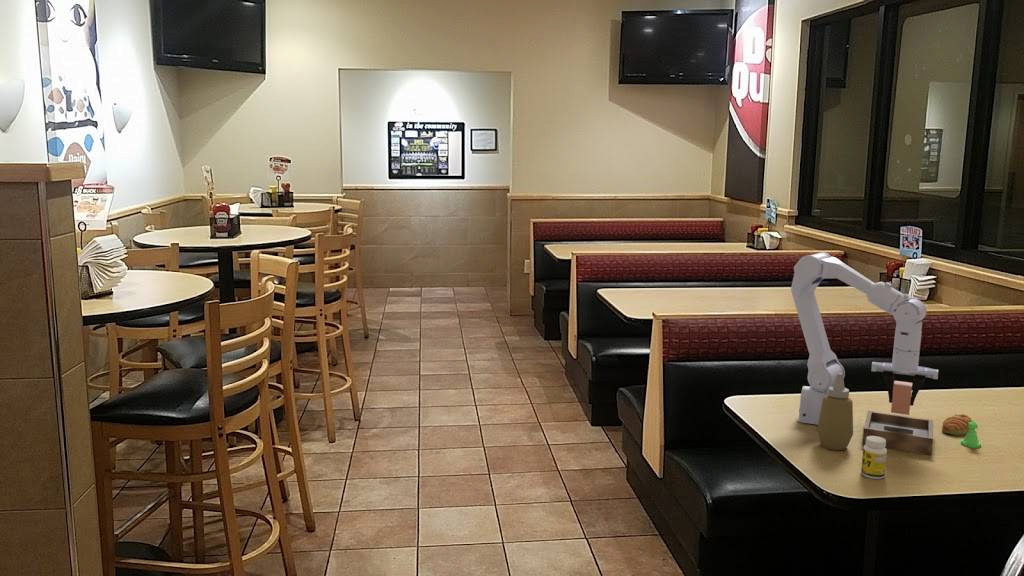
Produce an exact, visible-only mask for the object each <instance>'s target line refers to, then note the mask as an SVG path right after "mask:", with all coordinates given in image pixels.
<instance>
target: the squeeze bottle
mask: <svg viewBox="0 0 1024 576" xmlns="http://www.w3.org/2000/svg"><path fill="white" fill-rule="evenodd" d="M849 396H850V390H849V388H846V387H845V381H844V379H843V374H840V373H838V374H837V376H836V380H835V383H834V386H831V387H829V388H828V395H826V396H825V397H824V398H823V402H822V407H821V412H820V417H819V422H818V425H817V429H816V432H817V435H818V438H819V442H820V445H821V447H823V448H825V449H828V450H832V451H833V450H834V451H844V450H847V448H848V446H849V444H850V442H851V440H852V437H854V412H853V411H854V409H853V407H854V406H853V405H854V404H853V400H852V399H851V398H850V397H849Z"/></svg>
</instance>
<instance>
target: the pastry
mask: <svg viewBox="0 0 1024 576" xmlns="http://www.w3.org/2000/svg"><path fill="white" fill-rule="evenodd" d="M972 421H973V420H972V418H971V417H970V416H969V415H967V414H963V413H962V414H954V415H952V416H949V417H946V419H944V420H943V422H942V426H941V430H942V433H945V434H946V433H947V434H951V435H954V436H963V435H965V436H966V435H967V433H968V432H969V430H970V428H968V423H969V422H972Z"/></svg>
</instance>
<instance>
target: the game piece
mask: <svg viewBox="0 0 1024 576" xmlns="http://www.w3.org/2000/svg"><path fill="white" fill-rule="evenodd" d="M968 428H970V430H969V432H968V433H967V434H966V435H965V437H964V438H962V439H961V440H960V444H961V445H962V446H964V447H968V448H972V449H973V448H975V449H977V448H980V447H982V443H981V442H980V441H979V438H978V435H977V431H976V429H978V428H979V426H978V422H976V421H973V420H972V422H969V423H968Z"/></svg>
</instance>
